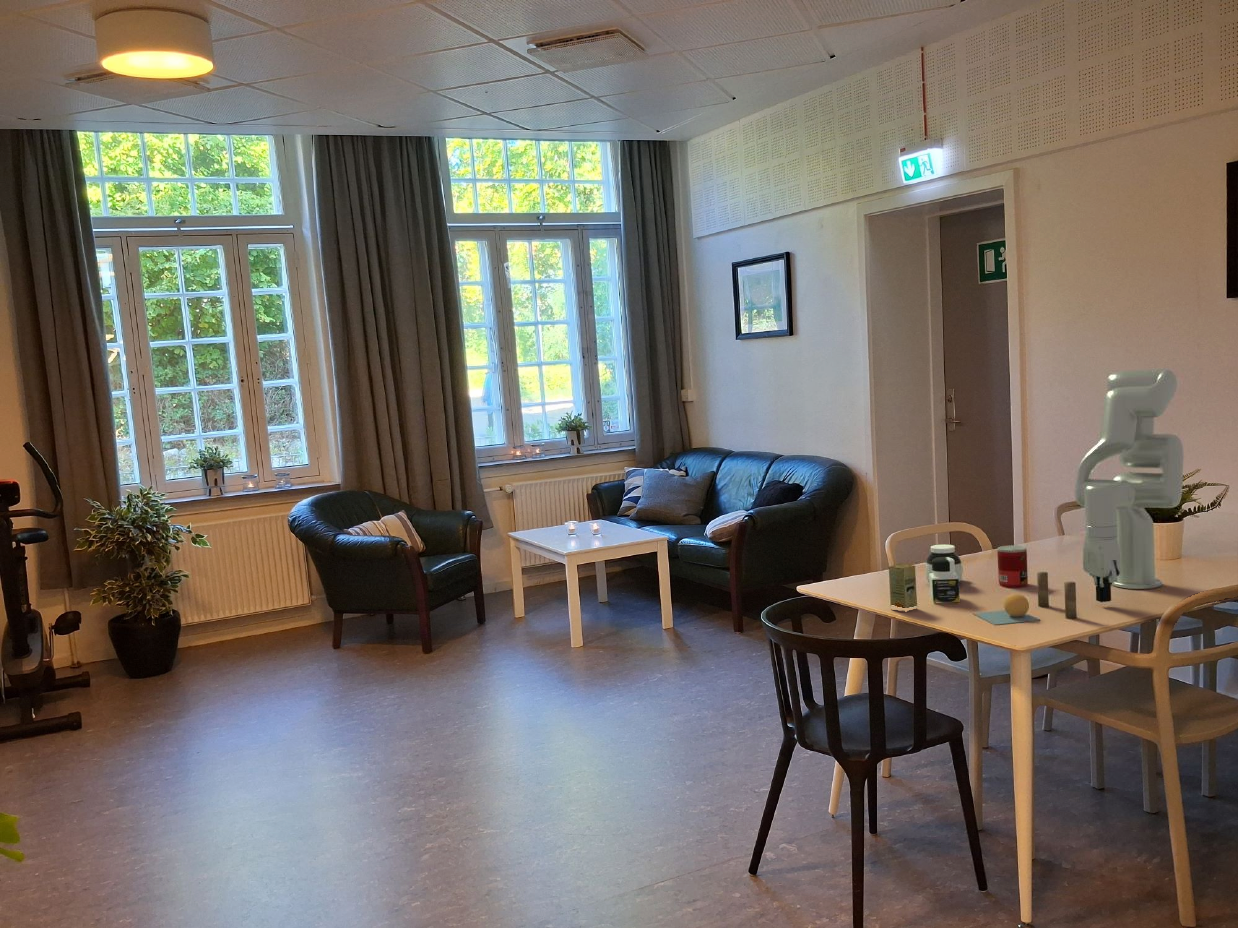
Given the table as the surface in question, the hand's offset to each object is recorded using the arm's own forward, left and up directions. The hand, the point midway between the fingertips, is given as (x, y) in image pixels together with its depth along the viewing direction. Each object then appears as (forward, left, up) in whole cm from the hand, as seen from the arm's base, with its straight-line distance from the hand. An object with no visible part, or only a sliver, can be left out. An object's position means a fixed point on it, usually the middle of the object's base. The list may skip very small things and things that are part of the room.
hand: (1103, 600), depth 265 cm
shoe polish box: (-18, -47, -2) cm, 50 cm away
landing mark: (0, -27, -2) cm, 27 cm away
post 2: (+6, -13, -2) cm, 15 cm away
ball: (+1, -24, +2) cm, 24 cm away
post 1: (-7, -13, -2) cm, 15 cm away
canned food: (-32, -8, -2) cm, 33 cm away
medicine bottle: (-23, -33, -2) cm, 40 cm away
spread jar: (-42, -24, -2) cm, 48 cm away
